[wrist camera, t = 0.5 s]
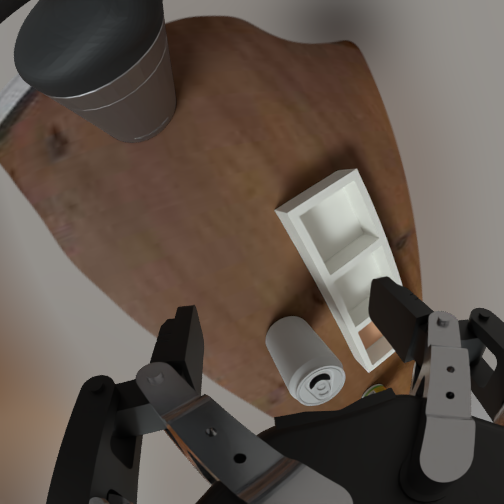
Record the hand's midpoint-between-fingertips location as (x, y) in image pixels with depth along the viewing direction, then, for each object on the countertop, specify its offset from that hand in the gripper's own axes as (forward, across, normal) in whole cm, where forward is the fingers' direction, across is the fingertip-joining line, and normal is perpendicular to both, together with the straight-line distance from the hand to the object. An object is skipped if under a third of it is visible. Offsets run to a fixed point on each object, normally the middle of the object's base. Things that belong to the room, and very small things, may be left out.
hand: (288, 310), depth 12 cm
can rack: (+22, -14, +11) cm, 28 cm away
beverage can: (+20, -3, +17) cm, 27 cm away
